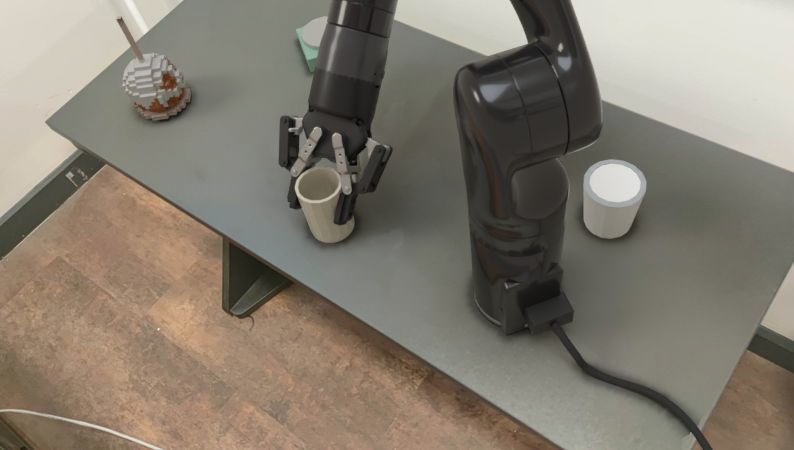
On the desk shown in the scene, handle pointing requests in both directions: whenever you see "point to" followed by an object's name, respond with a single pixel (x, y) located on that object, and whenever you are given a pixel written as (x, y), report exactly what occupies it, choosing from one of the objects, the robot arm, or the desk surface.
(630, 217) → the white cylinder
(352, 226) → the cup
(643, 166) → the desk surface
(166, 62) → the voxel caramel apple
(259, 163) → the desk surface
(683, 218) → the desk surface
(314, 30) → the scale
